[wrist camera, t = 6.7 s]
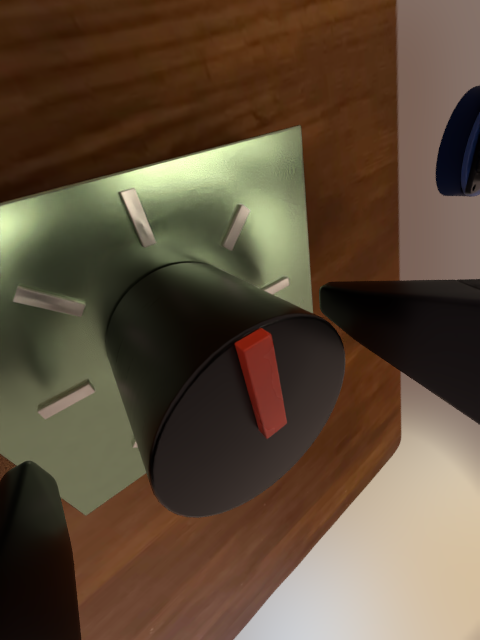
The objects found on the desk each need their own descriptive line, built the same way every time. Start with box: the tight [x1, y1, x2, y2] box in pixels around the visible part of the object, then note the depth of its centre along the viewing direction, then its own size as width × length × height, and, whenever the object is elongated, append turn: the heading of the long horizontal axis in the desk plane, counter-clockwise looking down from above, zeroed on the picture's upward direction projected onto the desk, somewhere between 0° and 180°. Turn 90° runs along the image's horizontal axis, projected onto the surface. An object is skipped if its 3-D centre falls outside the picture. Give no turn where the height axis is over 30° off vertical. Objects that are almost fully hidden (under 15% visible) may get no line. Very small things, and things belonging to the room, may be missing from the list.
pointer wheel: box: [106, 263, 345, 517], centre depth 7 cm, size 5×5×5 cm
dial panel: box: [0, 125, 313, 515], centre depth 10 cm, size 12×10×3 cm
